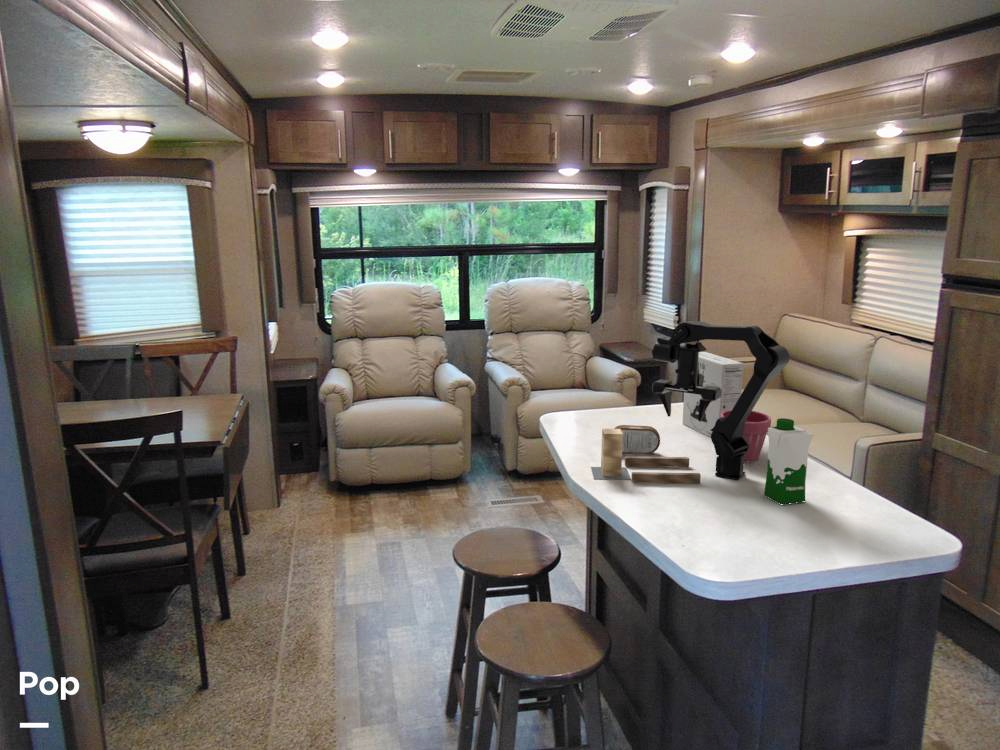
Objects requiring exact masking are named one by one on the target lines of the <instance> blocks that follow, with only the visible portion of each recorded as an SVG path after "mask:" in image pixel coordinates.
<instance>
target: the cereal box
mask: <svg viewBox="0 0 1000 750" xmlns="http://www.w3.org/2000/svg"><path fill="white" fill-rule="evenodd" d="M698 368H699V374H701V375H703V376H704V381H703V387H698V386H697V388H704V387H706V386H714V387H720V389H721V391H722V393H721V397H720V398H718V399H716V400H714V401H712V402H710V404H709V405H708V407H707V409H706V411H705V413H704V416H703V418H702V420H701V421H700V422H699V418H698V416H699V403H700V399H702V397H701V395H699V394H692V393H685V392H683V405H682V406H683V408H682V424H683V425H684V426H686V427H688V428H690V429H692V430H695V431H696V430H697V432H698V431H699V433H700V434H702V435H705V436H707V437H708V438H711V433H712V432H713V431H711V429H713V428H714V426H715V424H716V421H717V419H719V418H721V414H722V413H723V412H724V411H728V410H732V409H733V408H734V406H735V404H736V402H737V401H738V399H739V397H740V396H741V394H742V392H743V391H742V389H743V377H744V362H740V361H738V360H734V359H729V358H727V357H723V356H720V355H717V354H713V353H711V352H710V353H709V352H706V351H702V352H699V359H698ZM692 391H693V390H692Z"/></svg>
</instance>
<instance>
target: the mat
mask: <svg viewBox="0 0 1000 750" xmlns="http://www.w3.org/2000/svg"><path fill="white" fill-rule="evenodd" d="M591 469H592V470H591ZM590 470H591V472H592V476H593V479H594V480H609V481H610V480H611V481H612V480H613V481H615V480H616V481H617V480H623V481H625V480H626V481H630V480H631V479H632V477H631V476H630V473H629V470H628V467H627V466H625V467H624V466H623V467H622V469H621V476H603V475H602V472H601V466H590Z"/></svg>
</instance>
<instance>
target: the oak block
mask: <svg viewBox="0 0 1000 750" xmlns="http://www.w3.org/2000/svg"><path fill="white" fill-rule="evenodd" d="M601 429H602V430H601V452H600V454H601V458H600V459H601V460H600V467H601V472H602V475H603V476H621V469H622V463H623V460H622V459H623V453H622V444H623V433H622V431H621V429H614V428H601Z"/></svg>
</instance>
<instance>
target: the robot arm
mask: <svg viewBox="0 0 1000 750" xmlns="http://www.w3.org/2000/svg"><path fill="white" fill-rule="evenodd" d="M704 340H715V341H716V340H718V341H719V340H720V341H739V342H741V341H742V342H745V343H746V345H747V348H748V349H749V351H750V353H751V354H752V356H753V357H754V358H755V361H754V364H753V373H752V375H751V377H750V379H749V380H748V383H747V384H746V385H745V388H744V389H743V391H741V396H740V397H739V399H738V401H737V402H736V404H735V406H734V408H733V409H732V411H731V413H730V414H729V415H728V416H725V417H722V418H719V419H717V421H716V424H715V426H714V428H713V429H711V431H713V432H712V433H711V437H710V439H711V443H712V444H713V447H714V450H715V454H716V456H717V457H716V460H715V474H714V476H717V477H722V478H725V479H730V480H731V479H732V480H735V481H736V480H740V479H741V478H742V477H743V476H744V475H746V472H745V471H744V469H745V468H744V467H745V462H744V456H745V454H742V453H744V452H747V451H748V448H749V445H748V443H747V442H746V440H745V439H744V438H743V436H742V435H743V432H744V427H745V421H746V419H747V418H748V416H749V414H750V413H751V411H753V410H754V408H755V406H756V404H757V402H758V401H759V400H760V397H762V395H763V393H764V391H765V390H766V388H767V386H768V385H769V384H770V382H771V380H772V379H774V377H776V376H777V375H778V374H779V373H780V372H781V371H783V369H785V367H786V365H788V363H789V362H790V360H791V359H790V358H791V356H790V353H789V351H788V349H787V348H786V347H784V346H782V345H781V344H780V343H779V342H777V340H775V339H774V338H773V337H771V336H770V335H769V334H767V333H765V331H764V330H763V329H762V328H761V327H760V326H758V325H755V324H753V325H750V326H749V325H717V324H715V325H714V324H710V323H707V322H705V321H700V320H689V321H684V322H680V323H678V325H677V326H676V329H675V332H674V333H673V334H672V336H671V337H670V338H666V337H662V336H661V337H657V338H656V342H655V344H654V345H653V347H652V350H651V351H652V352H651V354H652V358H653V360H654V361H657V362H658V361H659V362H665V363H670V364H674V363H676V368H675V372H674V373H675V374H676V380H675V381H676V382H675V383H674V384H673V382H672V380H669V379H661V378H660V379H658V380H656V381H654V382H653V383H652V385H651V392H652V393H653V392H654V393H655V396H657V397H658V398H659V399H660V401H661V403H662V405H663V408H664V410H665V414H666V415H667V417H671V415H672V395H673V392H678V393H679V392H680V393H684V392H685V393H692V394H699V395H701V397H702V399H700V403H699V416H698V418H699V422H700V421H701V420H702V418H703V416H704V413H705V411H706V409H707V407H708V405H709V404H710V402H712V401H714V400H716V399H718V398H720V397H721V393H722V391H721V389H720V387H714V386H706V387H704V388H697V386H698V387H703V381H704V376H703V375H701V374H699V368H698V359H699V352H706V351H707V347H706V346H704V345H703V344H702V342H701V341H704ZM692 342H696V343H695V344H694V343H692ZM681 344H684V345H681ZM692 390H693V391H692Z"/></svg>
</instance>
